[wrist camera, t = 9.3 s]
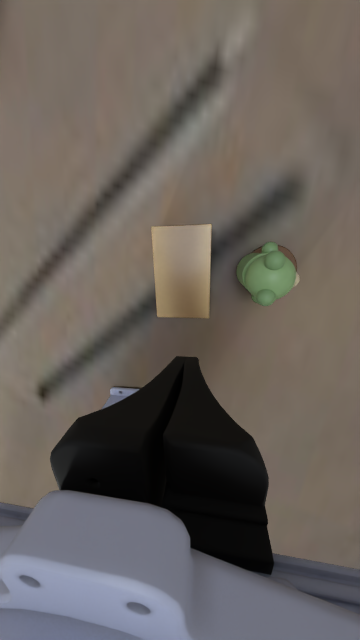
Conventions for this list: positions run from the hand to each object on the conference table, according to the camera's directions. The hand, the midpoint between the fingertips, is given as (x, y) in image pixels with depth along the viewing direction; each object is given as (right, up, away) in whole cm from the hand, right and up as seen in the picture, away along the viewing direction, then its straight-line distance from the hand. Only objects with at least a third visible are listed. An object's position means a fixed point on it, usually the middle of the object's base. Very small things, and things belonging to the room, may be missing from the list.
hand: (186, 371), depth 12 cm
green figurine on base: (+5, +8, +7) cm, 12 cm away
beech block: (0, +8, +8) cm, 12 cm away
